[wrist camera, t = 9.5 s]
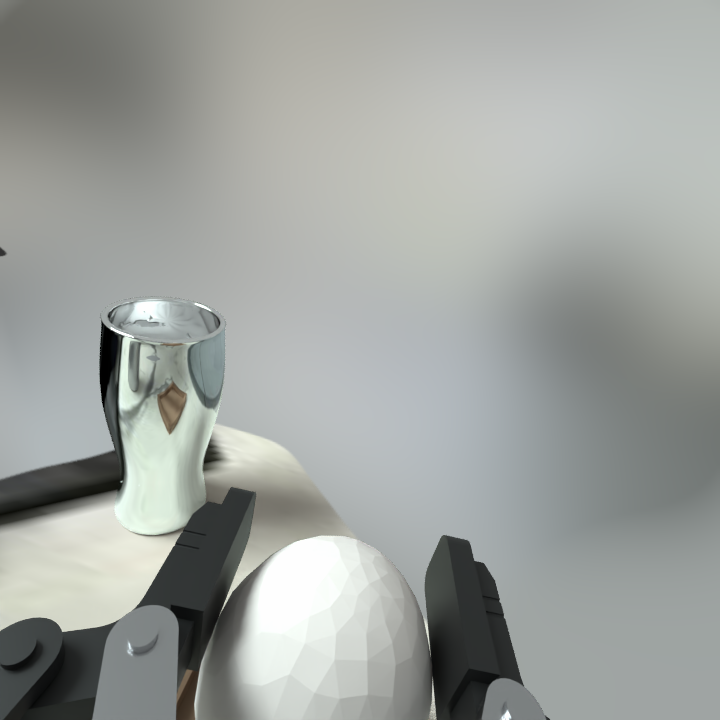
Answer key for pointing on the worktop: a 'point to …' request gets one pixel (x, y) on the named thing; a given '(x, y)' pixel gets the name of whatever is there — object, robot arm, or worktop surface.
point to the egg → (318, 640)
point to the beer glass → (160, 405)
